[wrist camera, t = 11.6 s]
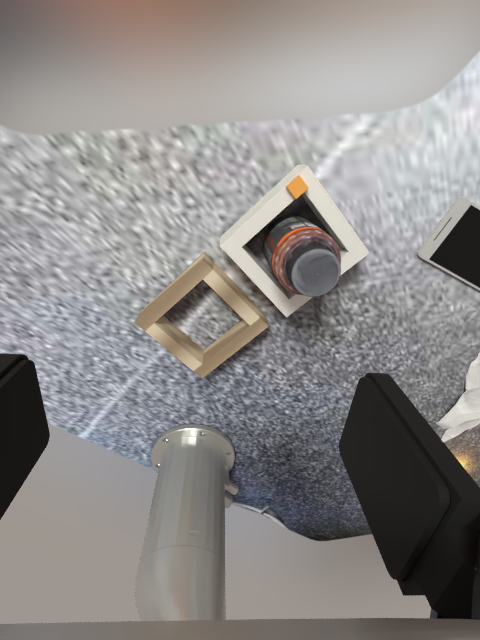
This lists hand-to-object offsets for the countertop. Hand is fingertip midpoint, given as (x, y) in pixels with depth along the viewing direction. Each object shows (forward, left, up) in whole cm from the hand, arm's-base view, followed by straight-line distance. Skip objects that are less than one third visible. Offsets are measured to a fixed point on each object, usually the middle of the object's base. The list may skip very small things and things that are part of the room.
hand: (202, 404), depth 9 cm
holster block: (-6, +8, -28) cm, 29 cm away
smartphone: (-23, -21, -28) cm, 42 cm away
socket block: (-6, -5, -28) cm, 29 cm away
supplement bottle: (-6, -5, -28) cm, 29 cm away
